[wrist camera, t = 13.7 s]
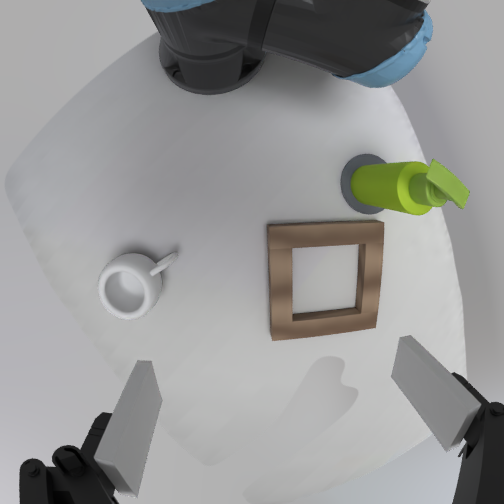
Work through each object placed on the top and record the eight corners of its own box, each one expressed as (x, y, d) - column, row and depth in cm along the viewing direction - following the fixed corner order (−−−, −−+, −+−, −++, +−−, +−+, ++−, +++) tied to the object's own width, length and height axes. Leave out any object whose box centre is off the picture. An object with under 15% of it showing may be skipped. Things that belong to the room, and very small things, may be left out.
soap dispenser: (355, 154, 39) (443, 139, 19) (390, 178, 40) (485, 183, 20) (337, 188, 40) (420, 197, 20) (374, 211, 41) (465, 236, 21)
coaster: (339, 153, 39) (340, 152, 39) (392, 156, 40) (393, 155, 39) (341, 214, 41) (342, 215, 41) (392, 213, 42) (394, 213, 41)
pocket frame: (266, 224, 41) (269, 227, 39) (376, 220, 42) (384, 222, 39) (270, 333, 45) (272, 340, 42) (369, 321, 46) (375, 327, 43)
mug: (135, 310, 43) (119, 333, 35) (105, 265, 41) (82, 281, 33) (197, 273, 42) (190, 293, 34) (166, 223, 40) (151, 232, 32)
